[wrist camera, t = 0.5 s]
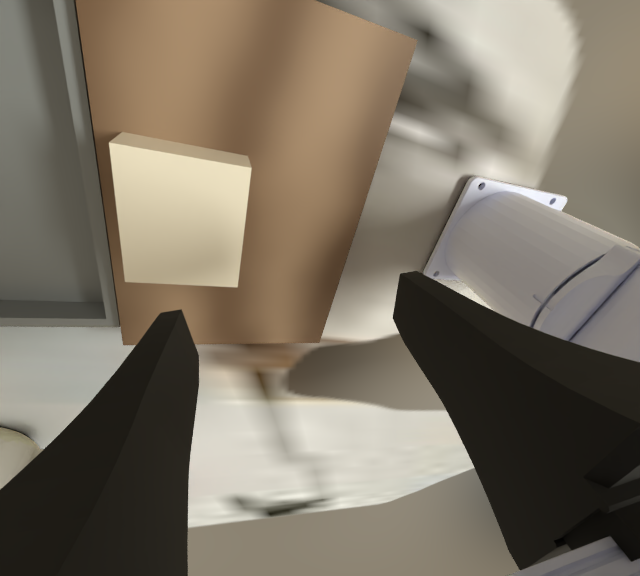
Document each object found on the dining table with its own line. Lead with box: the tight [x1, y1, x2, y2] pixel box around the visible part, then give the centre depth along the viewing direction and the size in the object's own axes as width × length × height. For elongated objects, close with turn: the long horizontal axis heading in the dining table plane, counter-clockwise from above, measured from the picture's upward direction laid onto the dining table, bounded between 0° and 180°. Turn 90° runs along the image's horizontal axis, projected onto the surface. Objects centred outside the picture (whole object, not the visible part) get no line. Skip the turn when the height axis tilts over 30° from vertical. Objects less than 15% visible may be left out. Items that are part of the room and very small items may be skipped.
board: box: [76, 0, 418, 345], centre depth 17 cm, size 12×18×2 cm
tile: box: [109, 132, 252, 287], centre depth 14 cm, size 5×6×2 cm
